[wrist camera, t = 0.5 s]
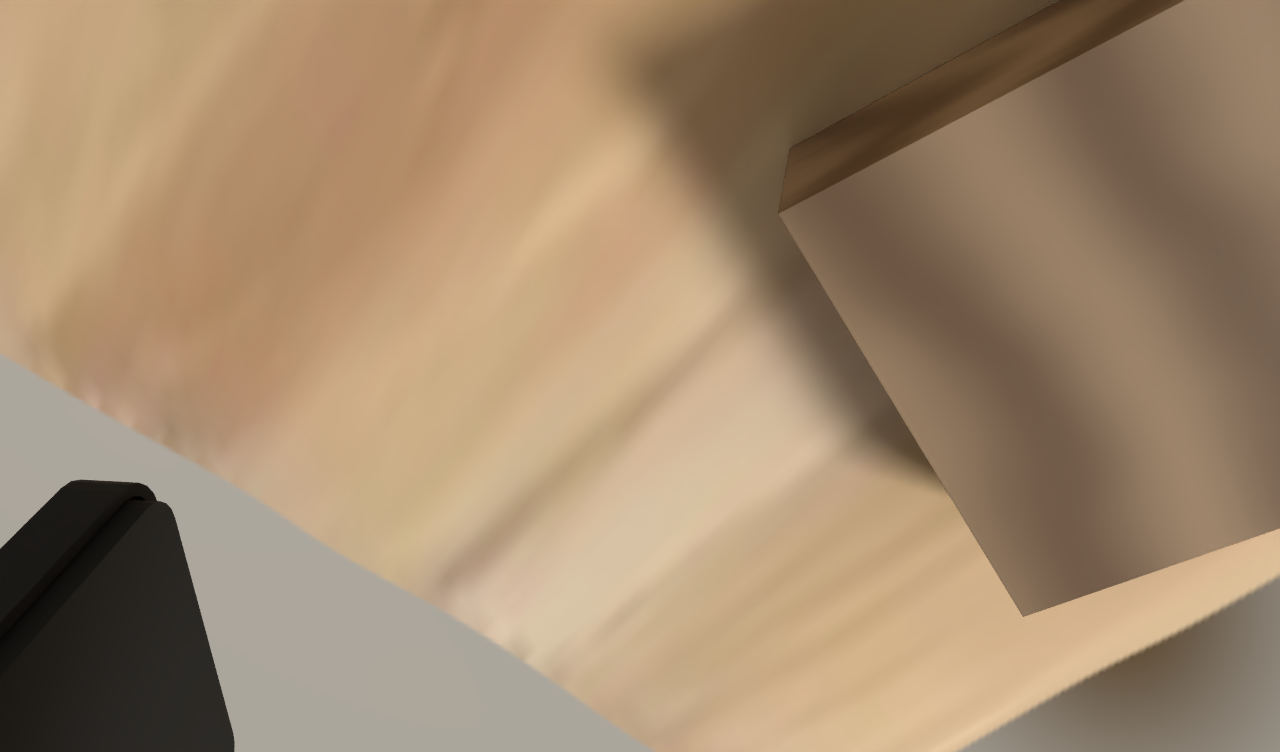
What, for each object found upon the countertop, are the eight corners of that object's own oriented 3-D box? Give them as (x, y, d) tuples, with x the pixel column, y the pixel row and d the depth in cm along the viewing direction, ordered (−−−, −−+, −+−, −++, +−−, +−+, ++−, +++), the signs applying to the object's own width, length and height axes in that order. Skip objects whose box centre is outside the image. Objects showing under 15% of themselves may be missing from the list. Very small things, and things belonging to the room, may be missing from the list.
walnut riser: (1495, -238, 27) (1614, -226, 23) (1654, 266, 32) (1778, 356, 27) (789, 148, 34) (778, 214, 30) (1005, 514, 38) (1023, 617, 34)
